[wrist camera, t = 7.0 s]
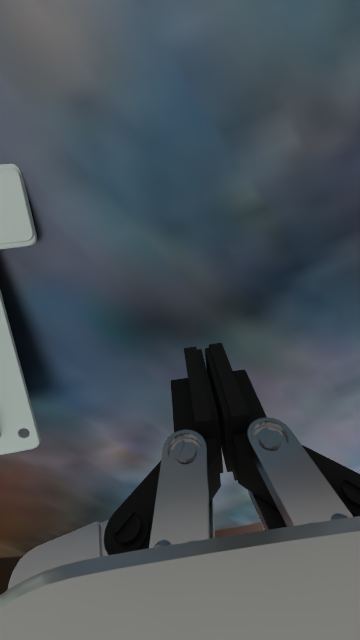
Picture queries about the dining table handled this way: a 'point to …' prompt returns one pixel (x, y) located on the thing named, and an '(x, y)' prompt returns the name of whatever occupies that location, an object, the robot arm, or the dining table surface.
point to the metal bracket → (3, 362)
